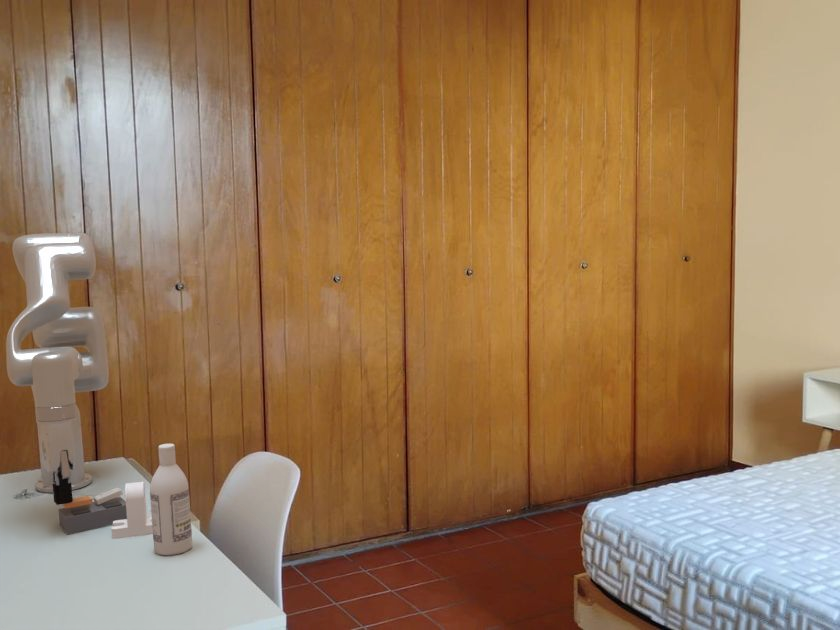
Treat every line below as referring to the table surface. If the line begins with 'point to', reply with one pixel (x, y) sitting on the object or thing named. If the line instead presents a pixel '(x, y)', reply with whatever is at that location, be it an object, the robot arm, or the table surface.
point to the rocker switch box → (92, 515)
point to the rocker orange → (78, 502)
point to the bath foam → (170, 505)
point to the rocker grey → (108, 495)
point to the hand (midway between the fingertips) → (63, 502)
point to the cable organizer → (133, 514)
